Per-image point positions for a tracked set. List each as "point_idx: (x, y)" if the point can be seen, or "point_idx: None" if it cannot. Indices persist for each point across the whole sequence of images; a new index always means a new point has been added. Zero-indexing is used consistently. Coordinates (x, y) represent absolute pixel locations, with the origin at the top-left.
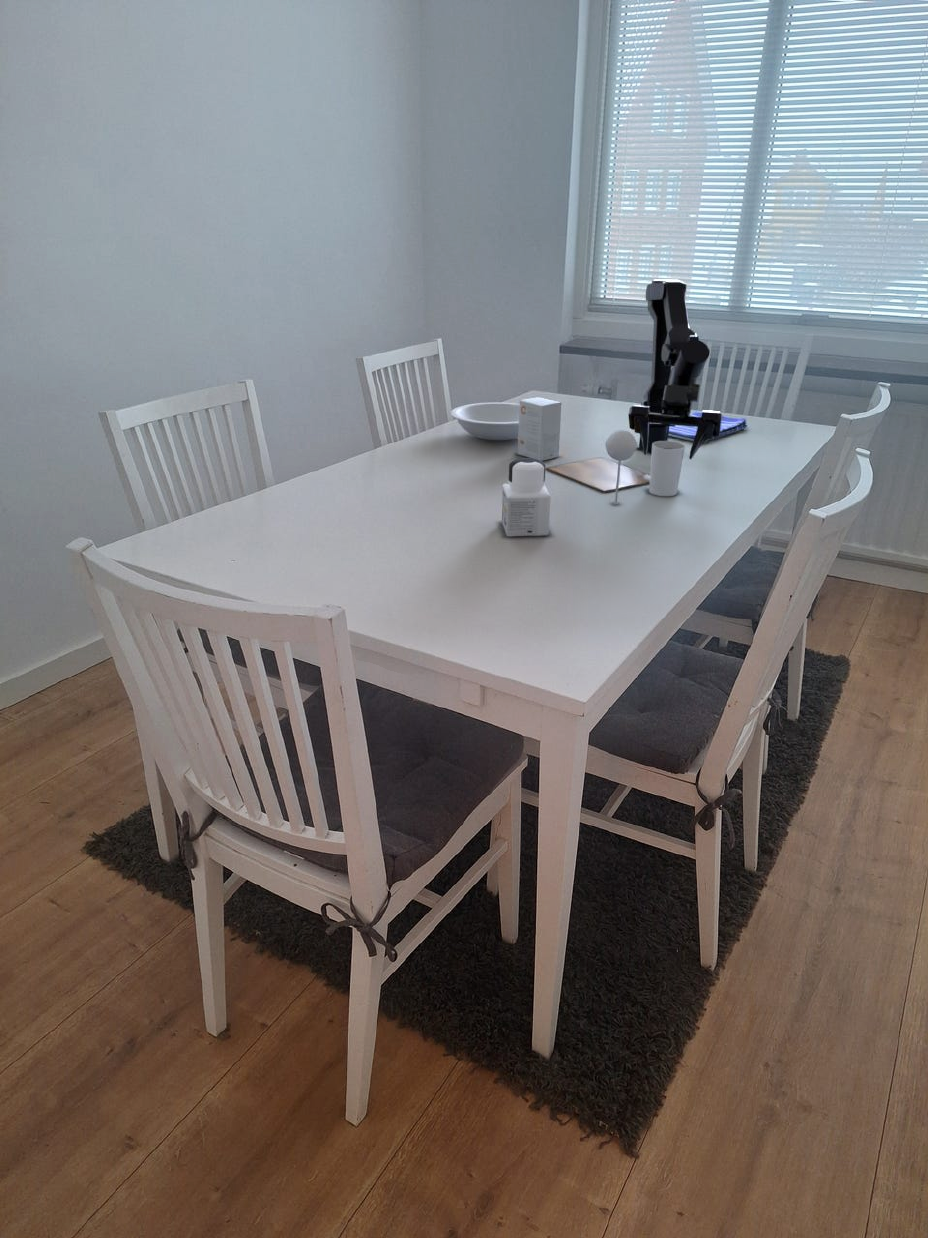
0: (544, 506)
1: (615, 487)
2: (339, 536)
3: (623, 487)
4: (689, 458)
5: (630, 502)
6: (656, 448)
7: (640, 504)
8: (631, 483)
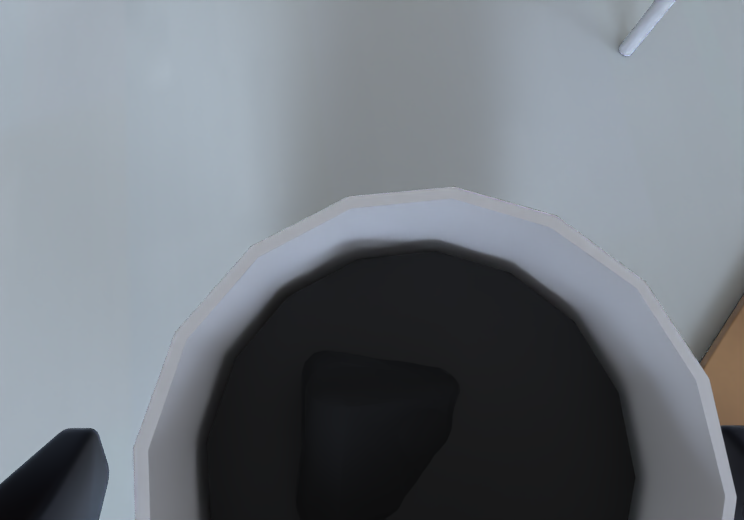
0: None
1: (733, 359)
2: None
3: None
4: (104, 453)
5: (550, 120)
6: (593, 259)
7: (482, 103)
8: None
